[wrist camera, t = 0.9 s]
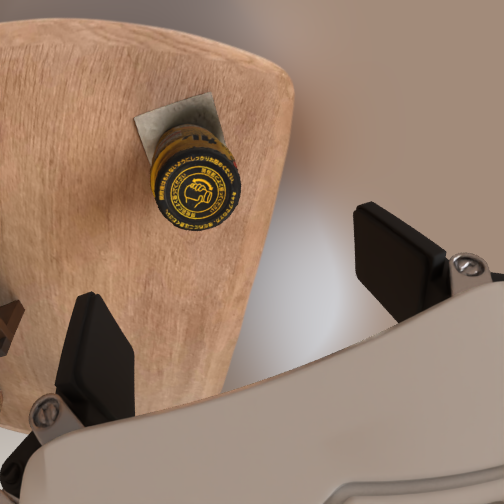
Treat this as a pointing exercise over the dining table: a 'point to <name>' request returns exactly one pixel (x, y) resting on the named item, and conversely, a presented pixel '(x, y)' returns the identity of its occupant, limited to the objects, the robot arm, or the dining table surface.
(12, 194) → the dining table surface
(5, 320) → the shelf
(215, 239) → the dining table surface
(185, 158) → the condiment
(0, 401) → the planter
